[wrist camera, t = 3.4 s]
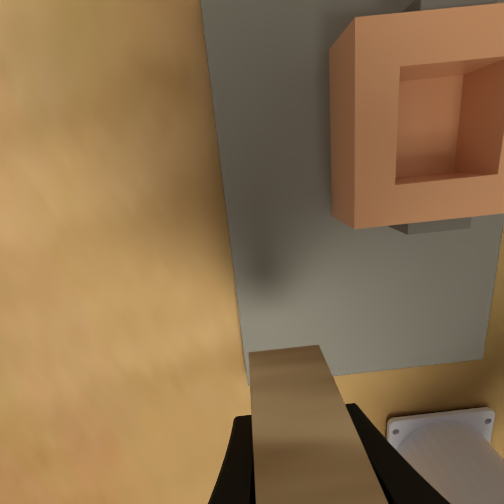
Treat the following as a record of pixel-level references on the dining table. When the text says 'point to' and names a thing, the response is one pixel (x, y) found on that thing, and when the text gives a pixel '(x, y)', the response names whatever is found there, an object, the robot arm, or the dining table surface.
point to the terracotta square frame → (419, 117)
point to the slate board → (327, 208)
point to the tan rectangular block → (305, 433)
